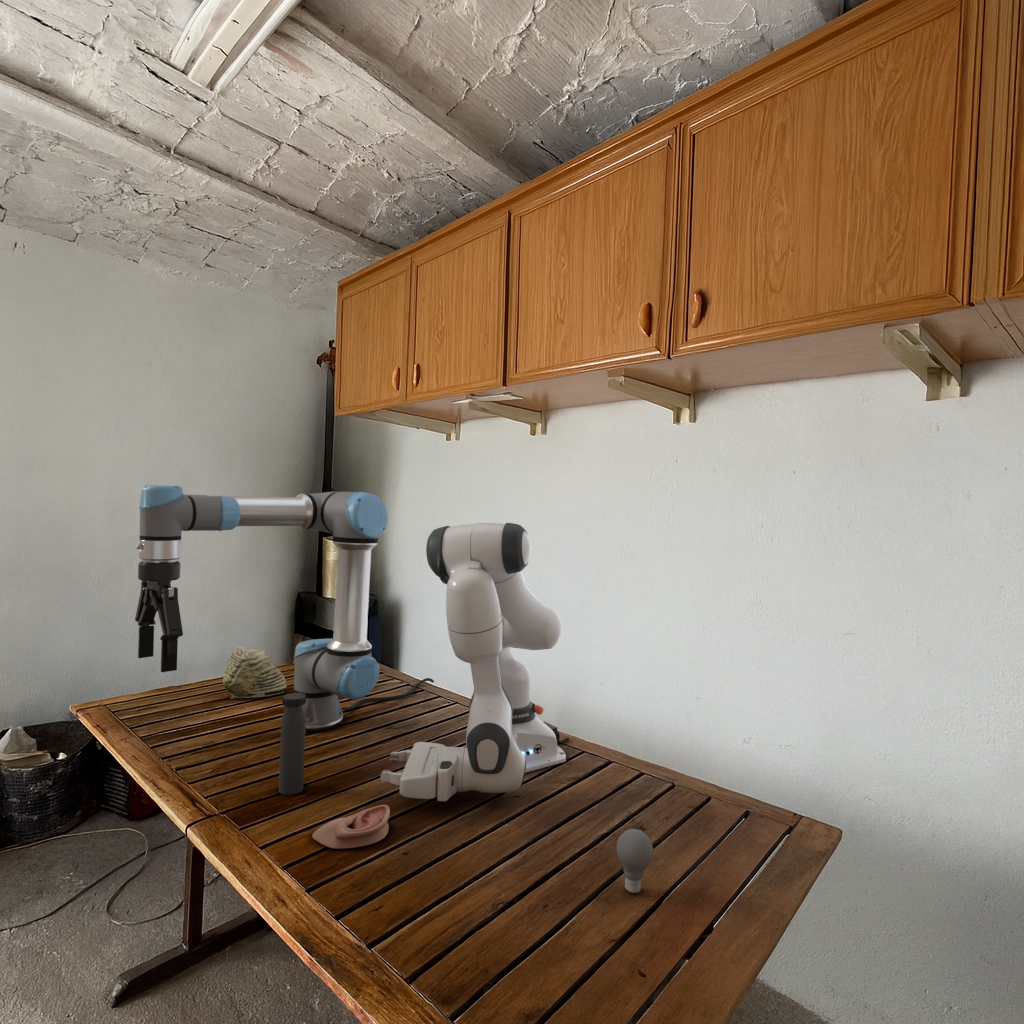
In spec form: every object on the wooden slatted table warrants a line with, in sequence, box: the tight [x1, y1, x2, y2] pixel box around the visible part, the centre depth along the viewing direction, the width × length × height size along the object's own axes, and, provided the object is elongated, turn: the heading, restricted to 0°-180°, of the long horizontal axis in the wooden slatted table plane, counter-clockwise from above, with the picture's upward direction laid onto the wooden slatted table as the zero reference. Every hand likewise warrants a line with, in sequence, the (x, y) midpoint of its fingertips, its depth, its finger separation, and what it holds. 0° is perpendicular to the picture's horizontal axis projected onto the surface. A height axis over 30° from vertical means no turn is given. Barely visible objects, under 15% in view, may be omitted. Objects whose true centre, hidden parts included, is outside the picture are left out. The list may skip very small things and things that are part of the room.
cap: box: [282, 692, 306, 707], centre depth 136 cm, size 5×5×2 cm
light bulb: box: [615, 828, 654, 894], centre depth 106 cm, size 6×6×10 cm
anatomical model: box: [311, 804, 391, 850], centre depth 119 cm, size 13×4×12 cm
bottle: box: [278, 706, 306, 796], centre depth 136 cm, size 5×5×20 cm
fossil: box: [222, 646, 288, 699], centre depth 198 cm, size 9×18×15 cm, turn 132°
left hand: (156, 663), depth 130 cm, fingers open, 13 cm apart
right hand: (385, 765), depth 136 cm, fingers open, 8 cm apart
